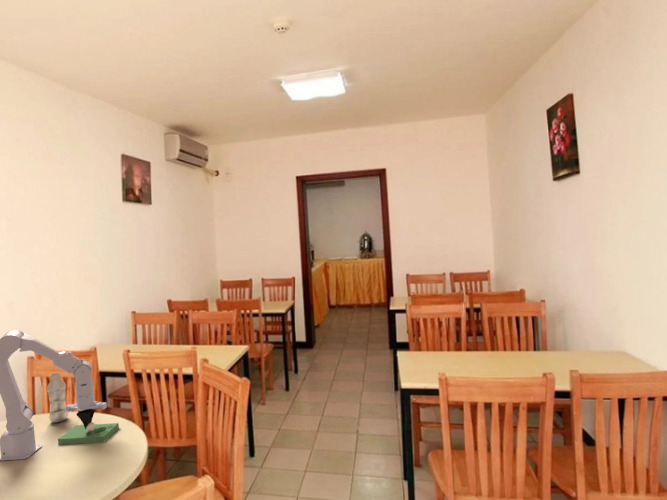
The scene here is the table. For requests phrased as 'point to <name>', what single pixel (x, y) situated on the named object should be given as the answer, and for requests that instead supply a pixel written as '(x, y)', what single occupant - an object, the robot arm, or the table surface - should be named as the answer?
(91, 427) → the ball
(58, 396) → the plastic bottle
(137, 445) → the table surface
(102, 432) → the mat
